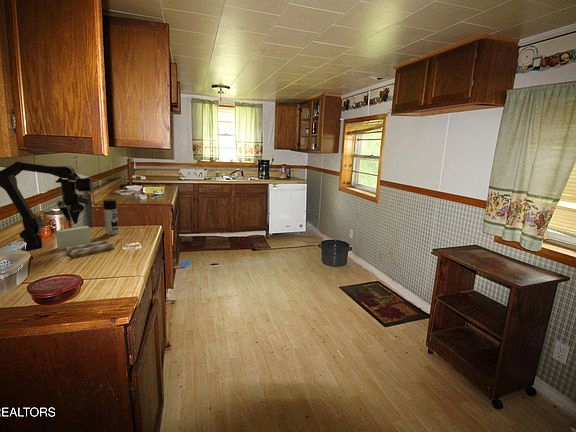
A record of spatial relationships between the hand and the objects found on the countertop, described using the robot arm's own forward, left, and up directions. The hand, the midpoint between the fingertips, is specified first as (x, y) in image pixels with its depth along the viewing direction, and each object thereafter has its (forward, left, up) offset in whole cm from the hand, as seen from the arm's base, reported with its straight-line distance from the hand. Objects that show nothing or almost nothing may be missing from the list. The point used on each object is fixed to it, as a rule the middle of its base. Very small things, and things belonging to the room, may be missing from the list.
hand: (72, 222), depth 159 cm
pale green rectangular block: (0, 0, -13) cm, 13 cm away
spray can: (+23, +10, -13) cm, 28 cm away
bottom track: (+2, -15, -12) cm, 20 cm away
